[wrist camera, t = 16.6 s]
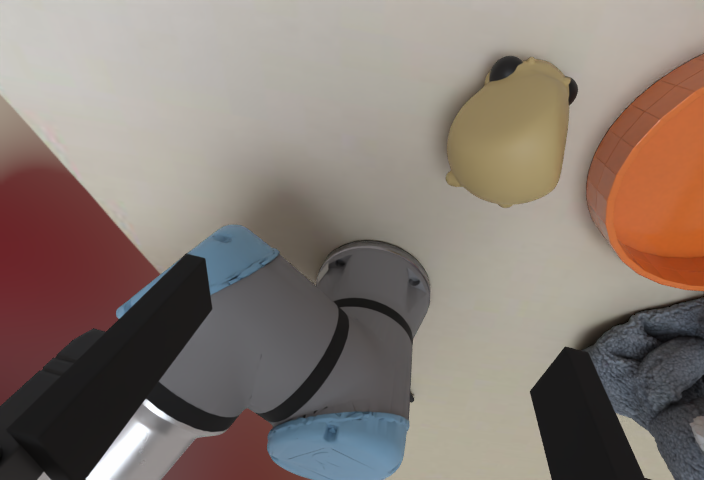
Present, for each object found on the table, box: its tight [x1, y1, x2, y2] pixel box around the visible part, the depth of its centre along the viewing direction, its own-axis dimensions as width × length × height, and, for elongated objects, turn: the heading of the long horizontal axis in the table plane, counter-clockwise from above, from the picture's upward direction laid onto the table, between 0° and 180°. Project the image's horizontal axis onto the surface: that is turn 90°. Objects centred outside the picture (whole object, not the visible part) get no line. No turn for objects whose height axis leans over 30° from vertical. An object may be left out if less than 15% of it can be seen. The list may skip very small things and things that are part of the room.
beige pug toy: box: [446, 56, 578, 208], centre depth 29 cm, size 10×12×11 cm
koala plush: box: [582, 297, 704, 480], centre depth 36 cm, size 17×18×20 cm
